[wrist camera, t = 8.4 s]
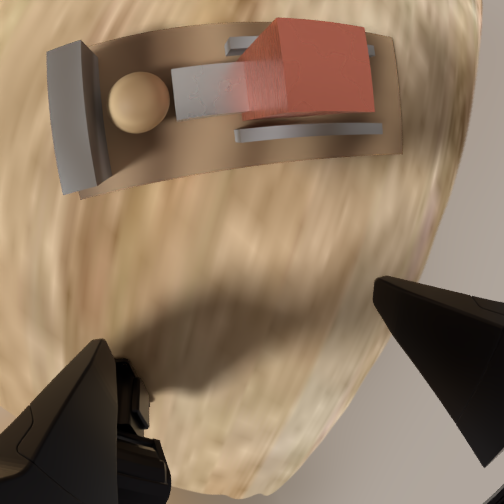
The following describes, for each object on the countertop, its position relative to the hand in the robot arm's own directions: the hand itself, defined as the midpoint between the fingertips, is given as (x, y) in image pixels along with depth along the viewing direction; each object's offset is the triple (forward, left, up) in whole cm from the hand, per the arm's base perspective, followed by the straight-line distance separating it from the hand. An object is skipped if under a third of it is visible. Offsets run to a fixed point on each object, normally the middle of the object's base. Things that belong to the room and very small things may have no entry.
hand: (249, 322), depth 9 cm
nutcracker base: (+4, +8, -13) cm, 16 cm away
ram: (+3, +8, -12) cm, 14 cm away
